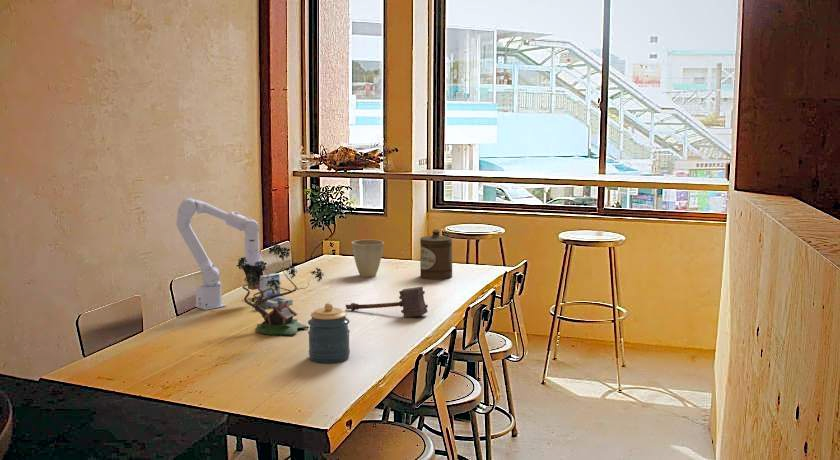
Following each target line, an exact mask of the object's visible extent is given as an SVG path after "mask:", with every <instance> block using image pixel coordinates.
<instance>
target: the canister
mask: <svg viewBox="0 0 840 460" xmlns="http://www.w3.org/2000/svg"><path fill="white" fill-rule="evenodd" d="M347 315H348V313H347V312H346V311H345V310H343V309H341V308H338V307H334V306H333V304H332V303H330V302H327V303H325V304H324V306H323V307H319V308H317V309H315V310H314V311H313V312H311V313H310V317H311V318H310V319H309V320H307V324H308V325H309V330H308V357H309V360H310V361H312V362H315V363H318V364H319V363H322V364H335V363H340V362H343V361H346V360H348V359H349V358H350V354H351V351H350V350H351V349H350V332H351V331H350V329H349V323H350V319H349V318H347Z"/></svg>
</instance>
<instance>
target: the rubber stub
mask: <svg viewBox="0 0 840 460" xmlns="http://www.w3.org/2000/svg"><path fill="white" fill-rule="evenodd" d="M264 298H265V297H263V298H262V299H264ZM258 306H259V307H261V308H262V309H264V310H265V311H266V310H268V306H267V301H265V302H264V304H263V303H262V304H259V305H258Z"/></svg>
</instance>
